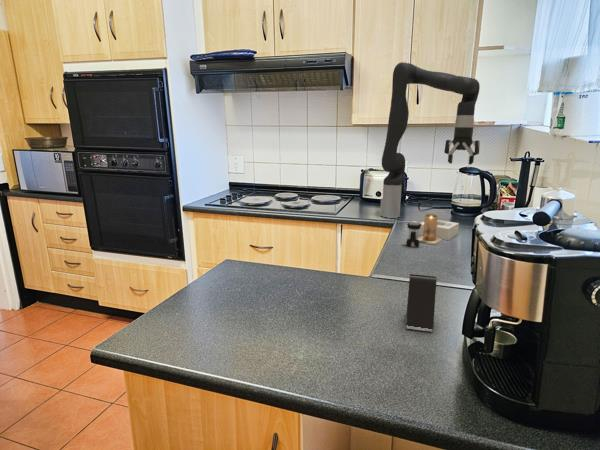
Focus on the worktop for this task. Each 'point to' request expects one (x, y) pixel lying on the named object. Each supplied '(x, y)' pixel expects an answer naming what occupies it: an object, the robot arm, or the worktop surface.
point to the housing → (443, 229)
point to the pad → (429, 241)
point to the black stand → (413, 234)
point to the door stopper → (421, 301)
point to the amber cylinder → (430, 227)
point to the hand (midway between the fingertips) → (460, 163)
